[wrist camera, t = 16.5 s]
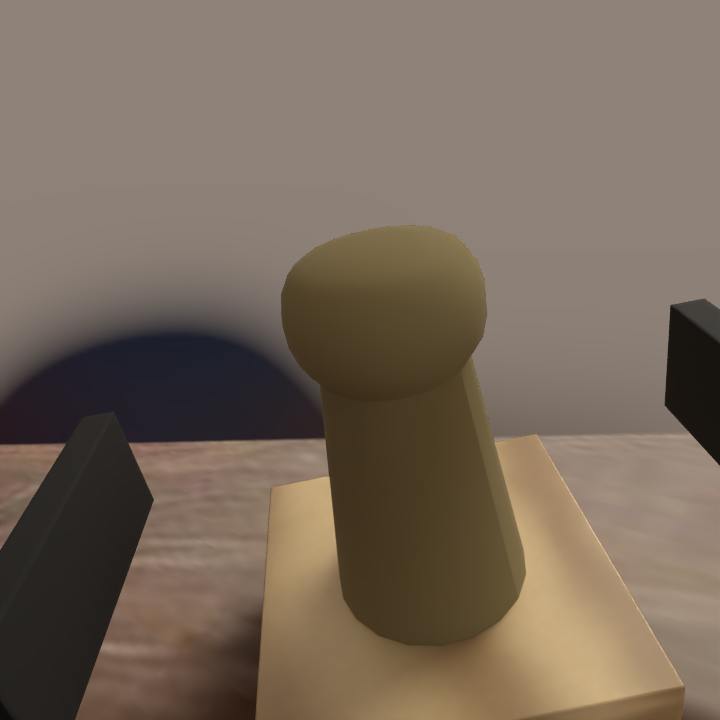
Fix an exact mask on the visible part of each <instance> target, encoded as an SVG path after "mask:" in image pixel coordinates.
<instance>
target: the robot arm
mask: <svg viewBox="0 0 720 720" xmlns="http://www.w3.org/2000/svg"><path fill="white" fill-rule="evenodd" d="M665 406H666V407H667V408H668V410H669V411H670V412H671V413H672V414H673V415H674V416H675V417H676V418H677V419H678V420H679V422H681V424H682V425H683V426H684V427H685V428H686V429H687V430H688V431H689V432H690V434H691V435H692V436H693V437H694V438H695V439H696V440H697V441H698V442H699V443H700V444H701V446H702V447H703V448H704V449H705V450H706V451H707V452H708V453H709V454H710V455H711V456H712V458H713V459H714V460H715V461H716V462H717V463H718V464H719V465H720V309H718V308H717V307H716V306H714V305H713V304H711V303H710V302H708V301H707V300H706V299H700V300H695V301H689V302H684V303H679V304H674V305H671V307H670V324H669V342H668V359H667V375H666V392H665ZM153 501H154V499H153V497H152V495H151V493H150V490H149V488H148V486H147V484H146V481H145V479H144V477H143V475H142V473H141V470H140V468H139V466H138V464H137V462H136V459H135V457H134V455H133V453H132V451H131V448H130V446H129V444H128V442H127V440H126V437H125V435H124V433H123V431H122V429H121V427H120V424H119V422H118V420H117V417H116V415H115V413H114V412H109V413H104V414H99V415H93V416H88V417H83V418H82V420H81V421H80V423H79V424H78V426H77V427H76V429H75V431H74V432H73V434H72V435H71V437H70V439H69V440H68V442H67V443H66V445H65V447H64V448H63V450H62V452H61V453H60V455H59V456H58V458H57V460H56V461H55V463H54V464H53V466H52V468H51V469H50V471H49V473H48V474H47V476H46V477H45V479H44V481H43V482H42V484H41V485H40V487H39V489H38V490H37V492H36V493H35V495H34V497H33V498H32V500H31V502H30V503H29V505H28V506H27V508H26V510H25V511H24V513H23V514H22V516H21V518H20V519H19V521H18V523H17V524H16V526H15V527H14V529H13V531H12V532H11V534H10V535H9V537H8V539H7V540H6V542H5V544H4V545H3V547H2V548H1V550H0V720H75V718H76V715H77V712H78V709H79V707H80V704H81V701H82V698H83V696H84V693H85V690H86V687H87V684H88V682H89V679H90V676H91V673H92V670H93V668H94V665H95V662H96V659H97V657H98V654H99V651H100V648H101V645H102V643H103V640H104V637H105V634H106V631H107V629H108V626H109V623H110V620H111V618H112V615H113V612H114V609H115V606H116V604H117V601H118V598H119V595H120V592H121V590H122V587H123V584H124V581H125V579H126V576H127V573H128V570H129V567H130V565H131V562H132V559H133V556H134V553H135V551H136V548H137V545H138V542H139V540H140V537H141V534H142V531H143V528H144V526H145V523H146V520H147V517H148V514H149V512H150V509H151V506H152V503H153Z"/></svg>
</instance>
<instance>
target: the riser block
mask: <svg viewBox="0 0 720 720" xmlns="http://www.w3.org/2000/svg"><path fill="white" fill-rule="evenodd" d="M495 445H496V449H497V453H498V457H499V460H500V464H501V468H502V471H503V475H504V479H505V483H506V486H507V490H508V494H509V497H510V501H511V505H512V509H513V512H514V516H515V520H516V523H517V527H518V531H519V535H520V538H521V542H522V546H523V549H524V557H525V567H526V576H525V580H524V583H523V586H522V589H521V592H520V595H519V598H518V600H517V601H516V602H515V603H514V604H513V606H512V607H511V608H510V609H509V611H508V612H507V613H506V614H505V615H504V617H503V618H502V619H501V620H500V621H499V622H497V623H495V624H494V625H492V626H491V627H489V628H487V629H486V630H484V631H483V632H481V633H479V634H478V635H476V636H475V637H472V638H468V639H465V640H461V641H457V642H453V643H450V644H446V645H442V646H428V645H406V644H403V643H400V642H397V641H394V640H391V639H388V638H384V637H381V636H379V635H377V634H376V633H374V632H373V631H372V630H370V629H369V628H368V627H366V626H365V625H364V624H362V623H361V622H360V621H358V620H357V619H356V618H355V616H354V615H353V613H352V611H351V610H350V608H349V607H348V605H347V604H346V602H345V600H344V599H343V594H342V588H341V582H340V576H339V567H338V557H337V547H336V537H335V527H334V518H333V508H332V498H331V488H330V479H329V476H327V477H322V478H317V479H312V480H307V481H302V482H297V483H292V484H288V485H283V486H278V487H273V488H271V493H270V508H269V523H268V538H267V552H266V567H265V582H264V597H263V612H262V626H261V641H260V656H259V671H258V686H257V701H256V715H255V720H682V712H683V703H684V693H685V686H684V684H683V682H682V681H681V679H680V677H679V675H678V674H677V672H676V670H675V669H674V667H673V665H672V664H671V662H670V660H669V658H668V657H667V655H666V653H665V652H664V650H663V648H662V647H661V645H660V643H659V641H658V640H657V638H656V636H655V635H654V633H653V631H652V630H651V628H650V626H649V624H648V623H647V621H646V619H645V618H644V616H643V614H642V613H641V611H640V609H639V607H638V606H637V604H636V602H635V601H634V599H633V597H632V596H631V594H630V592H629V591H628V589H627V587H626V585H625V584H624V582H623V580H622V579H621V577H620V575H619V574H618V572H617V570H616V568H615V567H614V565H613V563H612V562H611V560H610V558H609V557H608V555H607V553H606V551H605V550H604V548H603V546H602V545H601V543H600V541H599V540H598V538H597V536H596V534H595V533H594V531H593V529H592V528H591V526H590V524H589V523H588V521H587V519H586V517H585V516H584V514H583V512H582V511H581V509H580V507H579V506H578V504H577V502H576V500H575V499H574V497H573V495H572V494H571V492H570V490H569V489H568V487H567V485H566V484H565V482H564V480H563V478H562V477H561V475H560V473H559V472H558V470H557V468H556V467H555V465H554V463H553V461H552V460H551V458H550V456H549V455H548V453H547V451H546V450H545V448H544V446H543V444H542V443H541V441H540V439H539V438H538V436H537V434H533V435H529V436H524V437H519V438H514V439H509V440H504V441H499V442H495Z"/></svg>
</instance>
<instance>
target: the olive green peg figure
mask: <svg viewBox="0 0 720 720" xmlns="http://www.w3.org/2000/svg"><path fill="white" fill-rule="evenodd" d="M281 315H282V324H283V329H284V333H285V336H286V340H287V343H288V346H289V349H290V351H291V352H292V354H293V356H294V357H295V359H296V361H297V362H298V364H299V366H300V367H301V368H302V369H303V370H304V371H305V372H306V373H307V374H308V375H309V376H310V377H311V378H312V379H313V380H315V381H316V382H318V383H319V384H320V391H321V400H322V410H323V419H324V429H325V440H326V449H327V459H328V469H329V479H330V488H331V498H332V508H333V518H334V527H335V537H336V547H337V557H338V567H339V576H340V582H341V588H342V594H343V599H344V600H345V602H346V604H347V605H348V607H349V608H350V610H351V611H352V613H353V615H354V616H355V618H356V619H357V620H358V621H360V622H361V623H362V624H364V625H365V626H366V627H368V628H369V629H370V630H372V631H373V632H374V633H376V634H377V635H379V636H381V637H384V638H388V639H391V640H394V641H397V642H400V643H403V644H406V645H428V646H442V645H446V644H450V643H453V642H457V641H461V640H465V639H468V638H472V637H475V636H476V635H478V634H479V633H481V632H483V631H484V630H486V629H487V628H489V627H491V626H492V625H494V624H495V623H497V622H499V621H500V620H501V619H502V618H503V617H504V615H505V614H506V613H507V612H508V611H509V609H510V608H511V607H512V606H513V604H514V603H515V602H516V601H517V600H518V598H519V595H520V592H521V589H522V586H523V583H524V580H525V576H526V567H525V557H524V549H523V546H522V542H521V538H520V535H519V531H518V527H517V523H516V520H515V516H514V512H513V509H512V505H511V501H510V497H509V494H508V490H507V486H506V483H505V479H504V475H503V471H502V468H501V464H500V460H499V457H498V453H497V449H496V445H495V442H494V438H493V434H492V431H491V427H490V423H489V419H488V416H487V412H486V408H485V405H484V401H483V397H482V394H481V390H480V386H479V382H478V379H477V375H476V371H475V368H474V364H473V360H472V357H471V355H472V353H473V352H474V350H475V349H476V347H477V345H478V344H479V342H480V341H481V339H482V337H483V334H484V328H485V323H486V317H487V306H486V292H485V280H484V277H483V274H482V271H481V269H480V266H479V263H478V261H477V259H476V258H475V256H473V254H472V253H471V252H470V250H469V249H468V248H467V247H466V246H465V244H464V243H462V241H460V239H458V238H457V237H456V236H455V235H452V234H449V233H447V232H444V231H441V230H438V229H435V228H432V227H426V226H416V225H404V226H388V227H382V228H374V229H369V230H364V231H360V232H356V233H351V234H348V235H345V236H342V237H340V238H337V239H333V240H331V241H328V242H327V243H324V244H322V245H320V246H318V247H316V248H314V249H313V250H312V251H310V252H309V253H307V254H306V255H305V256H304V257H302V258H301V259H300V260H299V261H298V262H297V263H296V264H295V265H294V266H293V268H292V269H291V271H290V272H289V274H288V275H287V278H286V281H285V284H284V287H283V290H282V294H281Z"/></svg>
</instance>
